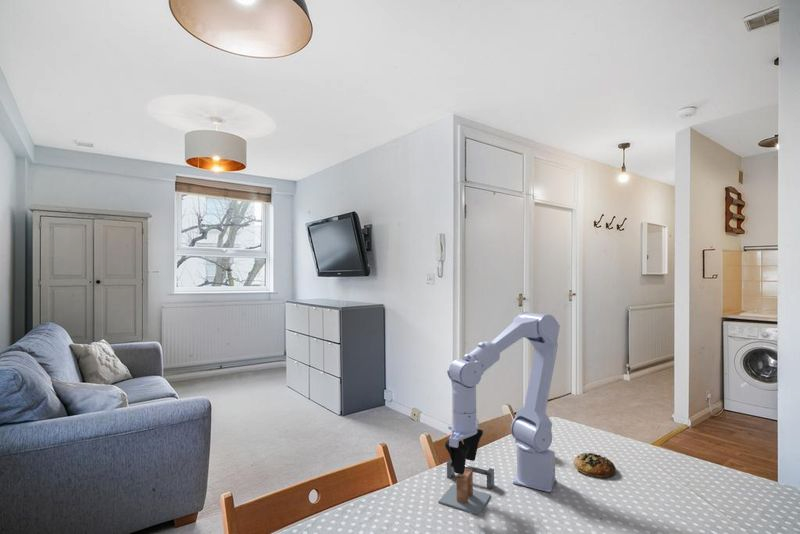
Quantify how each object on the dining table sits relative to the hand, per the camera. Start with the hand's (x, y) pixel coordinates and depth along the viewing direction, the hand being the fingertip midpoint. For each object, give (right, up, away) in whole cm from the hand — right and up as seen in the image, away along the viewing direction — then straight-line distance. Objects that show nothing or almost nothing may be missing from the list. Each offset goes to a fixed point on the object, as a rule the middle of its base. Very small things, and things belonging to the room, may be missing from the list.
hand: (465, 466), depth 99 cm
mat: (0, -8, 0) cm, 8 cm away
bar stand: (+3, -8, +9) cm, 12 cm away
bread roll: (+38, -9, +15) cm, 42 cm away
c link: (0, -8, 0) cm, 8 cm away
